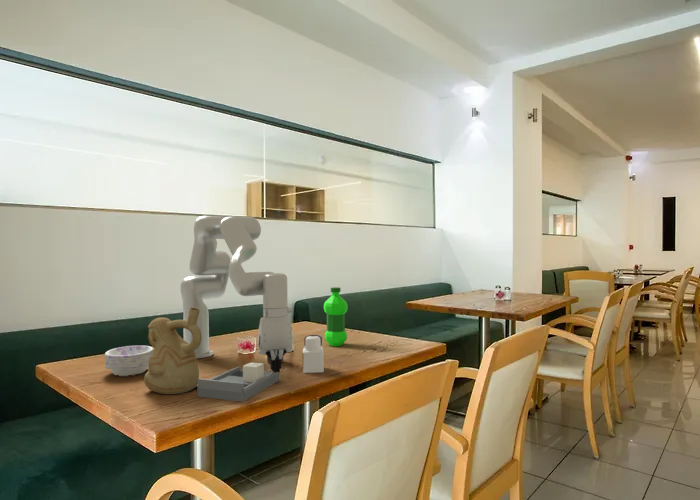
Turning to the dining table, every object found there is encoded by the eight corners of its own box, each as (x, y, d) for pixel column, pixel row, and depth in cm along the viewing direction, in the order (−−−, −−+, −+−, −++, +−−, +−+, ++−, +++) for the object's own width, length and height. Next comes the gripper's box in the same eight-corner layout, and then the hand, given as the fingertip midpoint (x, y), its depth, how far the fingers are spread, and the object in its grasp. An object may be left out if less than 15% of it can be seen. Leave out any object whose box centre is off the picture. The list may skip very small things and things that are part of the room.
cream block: (242, 381, 139) (242, 366, 139) (250, 377, 144) (250, 362, 144) (256, 382, 138) (256, 367, 138) (263, 378, 142) (263, 363, 142)
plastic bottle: (333, 341, 209) (333, 286, 209) (352, 344, 203) (352, 287, 203) (319, 345, 201) (318, 288, 201) (338, 348, 195) (338, 289, 194)
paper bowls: (106, 381, 148) (106, 357, 148) (103, 371, 161) (103, 348, 161) (157, 374, 156) (157, 351, 156) (150, 365, 169) (150, 343, 169)
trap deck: (197, 396, 133) (197, 379, 133) (238, 376, 153) (238, 361, 153) (243, 401, 128) (242, 383, 128) (279, 380, 148) (279, 364, 148)
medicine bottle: (303, 367, 164) (302, 334, 164) (323, 367, 164) (323, 333, 164) (302, 373, 157) (302, 338, 157) (323, 372, 157) (323, 337, 157)
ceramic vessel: (170, 378, 152) (169, 302, 152) (218, 384, 144) (218, 304, 144) (127, 393, 136) (126, 308, 136) (179, 401, 129) (178, 312, 128)
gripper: (294, 309, 151) (294, 365, 151) (248, 313, 144) (249, 371, 145) (302, 312, 144) (302, 371, 145) (254, 316, 138) (255, 377, 138)
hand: (275, 371), depth 145 cm, fingers closed
